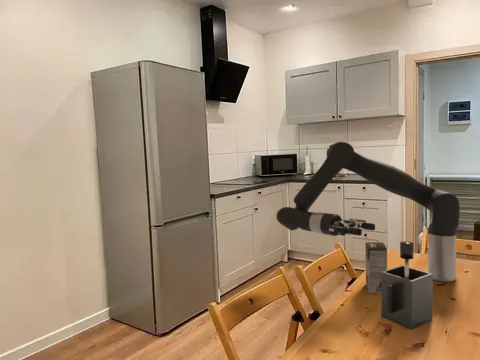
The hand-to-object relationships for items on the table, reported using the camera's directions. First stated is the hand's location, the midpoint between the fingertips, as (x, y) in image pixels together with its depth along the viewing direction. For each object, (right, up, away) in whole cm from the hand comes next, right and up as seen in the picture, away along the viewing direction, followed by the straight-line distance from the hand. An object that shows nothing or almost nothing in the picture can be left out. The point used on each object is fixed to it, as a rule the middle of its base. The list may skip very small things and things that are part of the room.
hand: (368, 229), depth 121 cm
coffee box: (+8, -23, +14) cm, 29 cm away
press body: (+7, -25, -10) cm, 28 cm away
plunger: (+8, -23, -9) cm, 26 cm away
